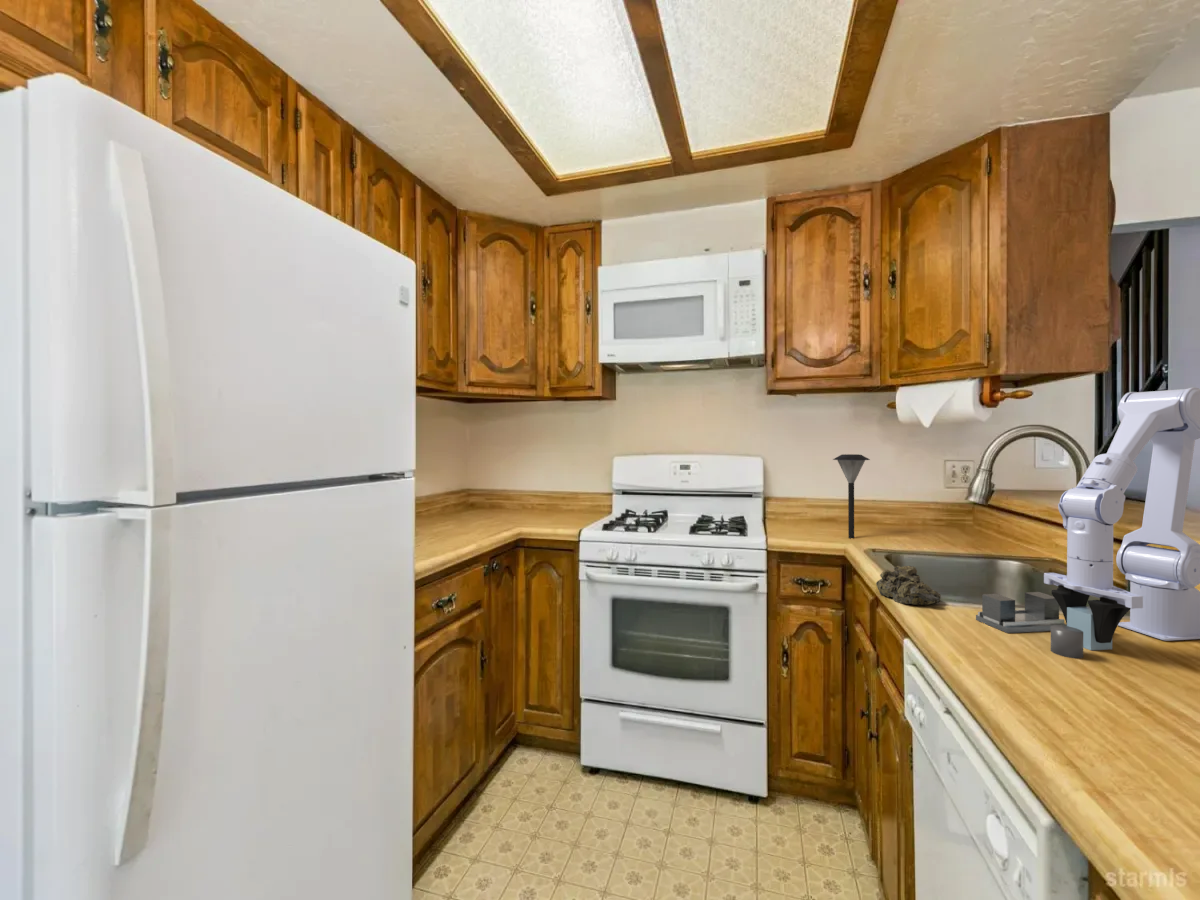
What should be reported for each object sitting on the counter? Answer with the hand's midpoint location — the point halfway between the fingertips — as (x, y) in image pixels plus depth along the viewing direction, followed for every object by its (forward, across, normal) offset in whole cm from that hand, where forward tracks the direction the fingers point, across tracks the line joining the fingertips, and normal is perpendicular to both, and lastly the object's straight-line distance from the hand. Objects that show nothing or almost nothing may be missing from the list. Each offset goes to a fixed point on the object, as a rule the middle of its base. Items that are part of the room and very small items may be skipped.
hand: (1089, 636), depth 88 cm
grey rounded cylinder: (+2, +2, -7) cm, 8 cm away
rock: (+2, -28, -13) cm, 31 cm away
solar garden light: (+2, -94, +15) cm, 96 cm away
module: (+1, 0, 0) cm, 1 cm away
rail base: (+1, -10, -3) cm, 11 cm away
